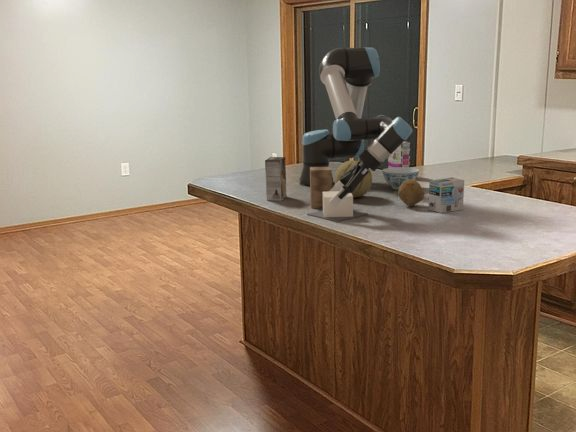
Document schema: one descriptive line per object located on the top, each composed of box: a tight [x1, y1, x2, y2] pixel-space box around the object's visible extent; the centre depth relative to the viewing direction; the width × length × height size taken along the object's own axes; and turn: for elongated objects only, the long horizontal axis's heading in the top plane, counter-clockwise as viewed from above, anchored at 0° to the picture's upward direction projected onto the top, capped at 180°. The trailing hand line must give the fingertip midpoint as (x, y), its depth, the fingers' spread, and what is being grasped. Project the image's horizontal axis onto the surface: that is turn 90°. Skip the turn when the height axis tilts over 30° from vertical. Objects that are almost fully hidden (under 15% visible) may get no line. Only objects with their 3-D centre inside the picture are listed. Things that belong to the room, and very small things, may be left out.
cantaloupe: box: [333, 158, 373, 199], centre depth 241 cm, size 15×15×15 cm
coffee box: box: [264, 156, 287, 202], centre depth 243 cm, size 9×6×16 cm
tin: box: [309, 166, 333, 209], centre depth 228 cm, size 8×8×14 cm
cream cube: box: [322, 191, 354, 217], centre depth 213 cm, size 10×10×7 cm
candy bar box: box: [387, 141, 411, 168], centre depth 284 cm, size 11×5×16 cm, turn 25°
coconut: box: [397, 179, 425, 207], centre depth 224 cm, size 9×9×10 cm
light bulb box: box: [428, 177, 465, 214], centre depth 216 cm, size 11×7×11 cm, turn 117°
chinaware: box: [382, 167, 420, 190], centre depth 257 cm, size 15×15×8 cm
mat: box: [306, 209, 369, 223], centre depth 214 cm, size 15×15×1 cm
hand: (330, 200), depth 213 cm, fingers open, 13 cm apart
